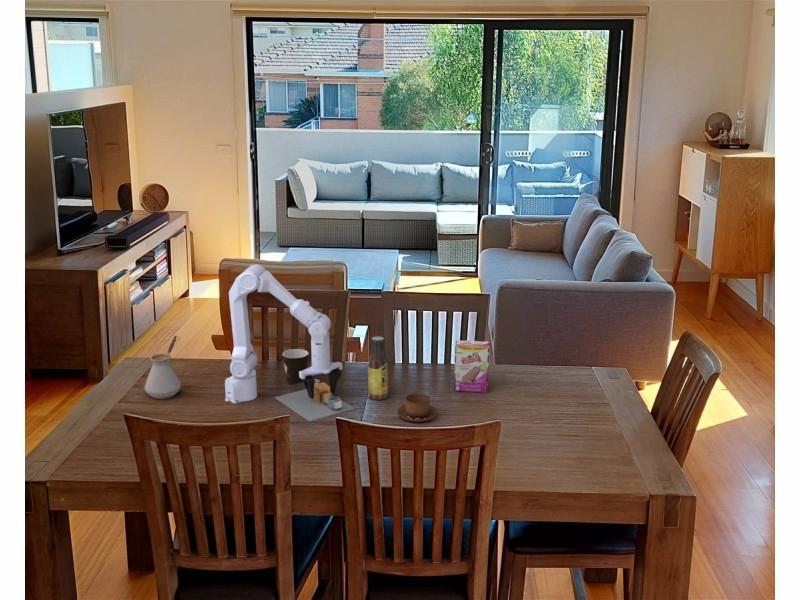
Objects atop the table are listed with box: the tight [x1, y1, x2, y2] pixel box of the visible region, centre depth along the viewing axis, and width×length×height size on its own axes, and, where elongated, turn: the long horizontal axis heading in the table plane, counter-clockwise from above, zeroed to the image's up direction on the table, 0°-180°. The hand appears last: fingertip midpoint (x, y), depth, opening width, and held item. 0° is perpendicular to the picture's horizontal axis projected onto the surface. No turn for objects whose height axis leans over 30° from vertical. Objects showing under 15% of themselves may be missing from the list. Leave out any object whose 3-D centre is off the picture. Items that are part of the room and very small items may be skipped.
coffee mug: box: [282, 348, 309, 385], centre depth 295 cm, size 12×9×10 cm
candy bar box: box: [453, 339, 491, 394], centre depth 286 cm, size 11×5×16 cm, turn 84°
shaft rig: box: [313, 378, 343, 411], centre depth 276 cm, size 6×20×4 cm, turn 36°
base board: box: [274, 388, 355, 422], centre depth 274 cm, size 16×22×2 cm
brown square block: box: [313, 382, 330, 404], centre depth 275 cm, size 4×4×5 cm
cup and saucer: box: [397, 393, 438, 423], centre depth 267 cm, size 12×12×6 cm
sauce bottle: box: [367, 335, 389, 401], centre depth 280 cm, size 7×6×20 cm
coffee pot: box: [144, 335, 182, 400], centre depth 287 cm, size 21×12×15 cm, turn 174°
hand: (321, 394), depth 275 cm, fingers open, 7 cm apart
